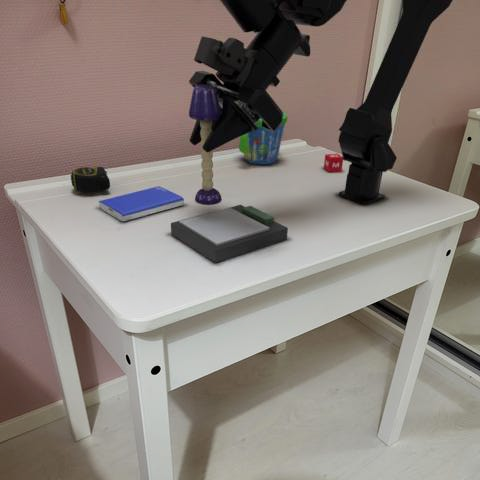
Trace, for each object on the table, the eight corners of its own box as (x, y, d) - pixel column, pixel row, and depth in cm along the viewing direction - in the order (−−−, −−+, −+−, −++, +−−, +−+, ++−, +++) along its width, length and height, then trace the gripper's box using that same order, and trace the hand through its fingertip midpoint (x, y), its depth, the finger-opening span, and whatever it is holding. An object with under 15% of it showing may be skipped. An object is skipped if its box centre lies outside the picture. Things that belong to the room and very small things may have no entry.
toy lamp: (225, 205, 76) (225, 87, 67) (196, 208, 75) (191, 89, 65) (218, 194, 80) (216, 82, 70) (189, 197, 79) (184, 83, 69)
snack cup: (258, 173, 105) (260, 123, 99) (221, 163, 110) (221, 115, 104) (298, 158, 115) (302, 112, 109) (262, 149, 120) (264, 105, 114)
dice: (328, 172, 106) (330, 158, 105) (323, 168, 109) (325, 154, 107) (341, 171, 107) (343, 157, 105) (336, 167, 110) (337, 153, 108)
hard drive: (158, 185, 92) (98, 199, 85) (183, 197, 87) (122, 213, 80) (158, 193, 93) (99, 208, 86) (184, 205, 88) (123, 222, 81)
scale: (240, 215, 85) (240, 199, 83) (287, 239, 77) (288, 222, 76) (171, 234, 78) (170, 218, 76) (215, 263, 70) (215, 245, 68)
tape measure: (111, 195, 92) (109, 175, 90) (73, 198, 90) (70, 177, 88) (108, 183, 97) (105, 164, 95) (72, 185, 95) (69, 166, 93)
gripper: (198, 8, 71) (134, 97, 73) (268, 16, 58) (188, 123, 60) (244, 66, 79) (185, 144, 81) (314, 84, 66) (242, 177, 67)
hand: (198, 146), depth 72 cm, fingers closed on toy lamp, 4 cm apart
